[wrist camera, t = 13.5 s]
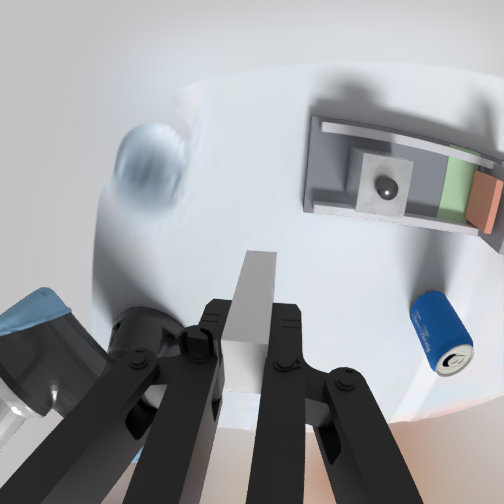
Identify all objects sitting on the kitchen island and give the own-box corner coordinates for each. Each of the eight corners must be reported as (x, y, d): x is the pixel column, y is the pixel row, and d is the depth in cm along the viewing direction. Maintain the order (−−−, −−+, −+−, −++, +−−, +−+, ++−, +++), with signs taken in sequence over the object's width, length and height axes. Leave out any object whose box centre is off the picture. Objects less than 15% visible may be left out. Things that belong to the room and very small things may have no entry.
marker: (464, 217, 30) (483, 233, 26) (474, 169, 27) (497, 179, 23) (470, 218, 30) (490, 234, 26) (481, 171, 27) (503, 181, 23)
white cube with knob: (344, 194, 31) (357, 215, 25) (351, 145, 29) (366, 154, 23) (385, 200, 31) (406, 222, 25) (393, 153, 28) (417, 164, 22)
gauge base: (303, 209, 34) (306, 236, 27) (311, 116, 30) (318, 116, 22) (487, 235, 32) (518, 262, 25) (504, 162, 27) (541, 177, 20)
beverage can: (416, 286, 37) (446, 343, 26) (450, 288, 36) (484, 341, 26) (402, 321, 40) (424, 380, 29) (436, 322, 39) (462, 377, 29)
